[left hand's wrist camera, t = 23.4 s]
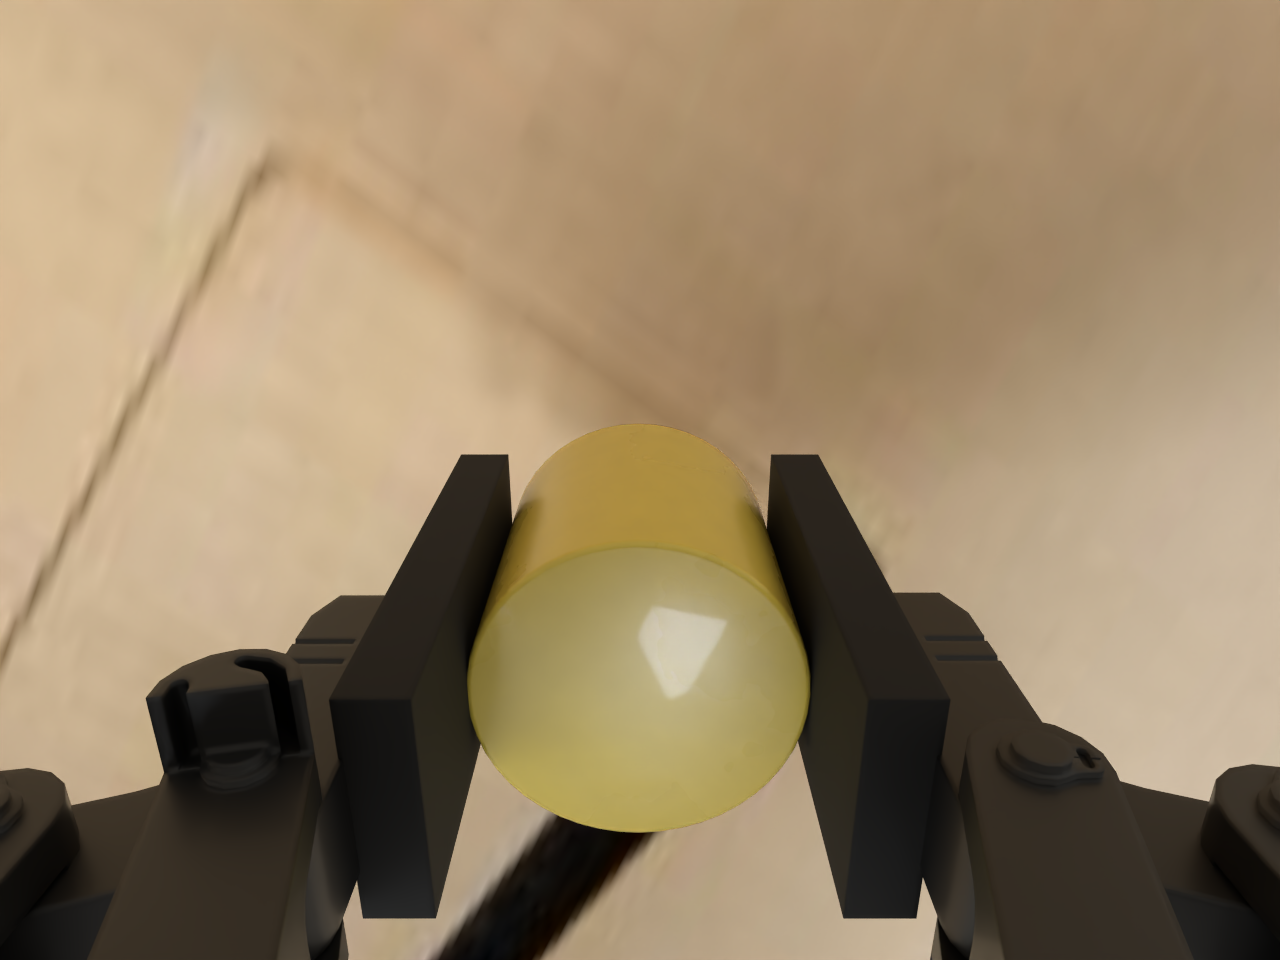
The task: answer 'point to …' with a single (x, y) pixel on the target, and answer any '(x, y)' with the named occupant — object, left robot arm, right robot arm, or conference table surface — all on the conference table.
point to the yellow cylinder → (638, 637)
